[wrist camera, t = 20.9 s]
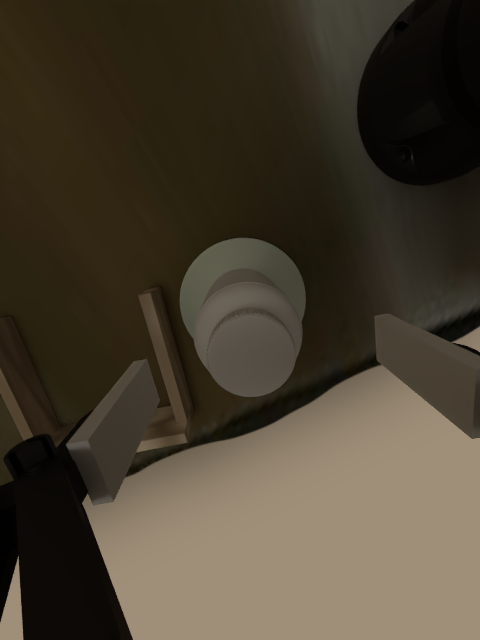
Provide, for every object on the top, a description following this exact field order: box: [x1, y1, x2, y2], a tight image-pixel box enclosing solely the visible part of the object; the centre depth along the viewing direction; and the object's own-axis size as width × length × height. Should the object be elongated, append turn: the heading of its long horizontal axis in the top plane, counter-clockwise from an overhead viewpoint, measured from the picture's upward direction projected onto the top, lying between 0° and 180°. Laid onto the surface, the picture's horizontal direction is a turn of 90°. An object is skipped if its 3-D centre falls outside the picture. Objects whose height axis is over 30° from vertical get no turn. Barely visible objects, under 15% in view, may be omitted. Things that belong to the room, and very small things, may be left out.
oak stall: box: [0, 287, 194, 452], centre depth 30 cm, size 18×16×6 cm
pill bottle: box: [194, 269, 302, 397], centre depth 23 cm, size 8×8×15 cm
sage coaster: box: [180, 238, 306, 339], centre depth 31 cm, size 14×14×1 cm
